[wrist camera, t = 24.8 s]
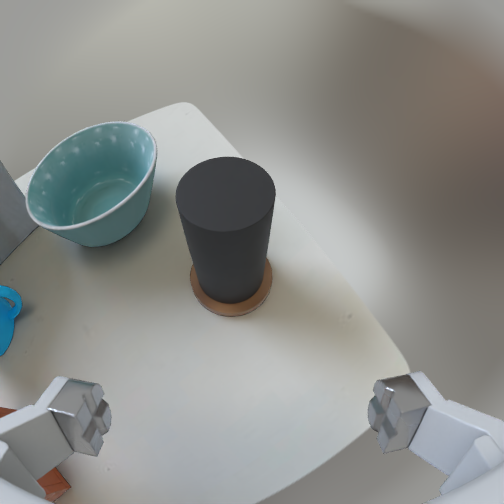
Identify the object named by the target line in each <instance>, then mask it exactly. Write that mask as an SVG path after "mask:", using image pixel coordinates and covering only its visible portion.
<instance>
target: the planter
mask: <svg viewBox="0 0 504 504" xmlns="http://www.w3.org/2000/svg"><path fill="white" fill-rule="evenodd" d="M25 198H26V197H25V196H24V195H23V193H22V192H21V190H20V189H19V188H18V186H17V185H16V183H15V182H14V180H13V179H12V177H11V176H10V175H9V173H8V171H7V170H6V169H5V167H4V165H3V164H2V162H1V161H0V264H1V263H2V262H3V261H4V260H5V259H6V258H7V257H8V256H9V255H10V254H11V253H12V251H13V250H14V249H15V248H16V247H17V246H18V245H19V244H20V243H21V242H22V241H23V240H24V239H25V238H26V237H27V236H28V235H29V234H30V233H31V232H32V231H33V230H34V229H36V228H37V227H38V226H39V225H38V224H37V223H35V222H34V221H33V220H32V218H31V217H30V216H29V214H28V211H27V208H26V199H25Z"/></svg>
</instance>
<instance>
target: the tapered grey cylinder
mask: <svg viewBox="0 0 504 504" xmlns="http://www.w3.org/2000/svg"><path fill="white" fill-rule="evenodd" d="M275 195H276V192H275V186H274V183H273V180H272V179H271V177H270V176H269V174H268V173H267V172H266V171H265V170H264V169H263V168H261V167H260V166H258V165H257V164H255V163H253V162H251V161H249V160H246V159H242V158H237V157H218V158H213V159H209V160H206V161H203V162H201V163H199V164H197V165H196V166H194V167H192V168H191V169H190V170H189V171H188V172H187V173H185V175H184V176H183V177H182V178H181V180H180V182H179V184H178V186H177V190H176V203H177V207H178V211H179V214H180V218H181V222H182V226H183V229H184V233H185V236H186V240H187V244H188V247H189V251H190V254H191V258H192V261H193V264H194V268H195V271H196V275H197V278H198V281H199V284H200V286H201V288H202V290H203V291H204V292H205V294H206V295H208V296H209V297H210V298H212V299H213V300H215V301H218V302H221V303H226V304H234V303H240V302H243V301H245V300H247V299H249V298H250V297H252V296H253V295H254V294H255V293H256V292H257V291H258V289H259V288H260V286H261V284H262V281H263V275H264V269H265V262H266V256H267V249H268V243H269V236H270V229H271V223H272V216H273V209H274V202H275Z"/></svg>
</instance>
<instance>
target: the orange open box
mask: <svg viewBox="0 0 504 504" xmlns="http://www.w3.org/2000/svg"><path fill="white" fill-rule="evenodd" d="M15 411H17V410H14V409H8V408H2V407H0V418H2V417H4V416H6V415H8V414H11V413H13V412H15ZM37 482H38V483H39V485H40V486H41V487H42V488H43V489H44V490H45V492H46V496H45V498H44V499H45V500H48V501H50V502H52V503H53V502H54V501H55V500H56V499H57V498H59V497H60V496H61V495H62V494H64V493H65V492H66V491H67V490H68V489H70V488H71V486H70V485H69V484H68V483H67V482H66V480H65V479H64V478H63V477H62V475H61V474H60V473H59V472H58V470H57V469H56V468H55V467H54V468H53V469H52V470H50V471H49V472H48V473H46V474H45V475H44V476H42V477H41V478H39V479H38V480H37Z"/></svg>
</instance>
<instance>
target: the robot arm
mask: <svg viewBox="0 0 504 504" xmlns="http://www.w3.org/2000/svg"><path fill="white" fill-rule="evenodd" d="M373 392H374V393H375V396H374V397H373V398H372V399H371V400H370V402H369V406H368V420H369V424H370V426H371V428H372V429H373V430H375V431H377V432H378V436H377V441H378V443H379V445H380V447H381V449H382V452H383V454H384V453H389V452H393V451H397V450H401V449H404V448H408V449H409V450H410V451H412V452H413V453H415V454H416V455H418V456H419V457H421V458H422V459H423V460H425V461H427V462H428V463H429V464H431V465H433V466H434V467H435V468H437V469H439V470H440V471H442V472H443V473H445V474H446V475H448V476H449V477H448V478H447V479H446V481H445V482H444V483H443V484H442V485H441V487H440V489H439V491H440V493H441V496H439V497H436V498H435V499H432V500H429V501H427V502H425V503H422V504H504V421H503V420H500V419H497V418H495V417H492V416H490V415H487V414H484V413H482V412H479V411H477V410H474V409H472V408H469V407H467V406H464V405H462V404H459V403H456V402H454V401H452V400H447V401H446V400H445V399H444V398H443V397H442V395H441V394H440V393H439V391H437V389H436V388H435V387H434V385H433V384H432V383H431V382H430V380H429V379H428V378H427V377H426V376H425V374H424V373H423V372H420V371H417V372H413V373H409V374H406V375H401V376H396V377H391V378H386V379H381V380H377V381H376V383H375V385H374V388H373ZM103 395H104V391H103V389H102V386H101V385H99V384H98V383H92V382H87V381H82V380H77V379H72V378H66V377H62V376H58V377H55V379H54V380H53V381H52V383H51V384H50V385H49V386H48V388H47V389H46V390H45V392H44V393H43V394H42V396H41V397H40V398H39V400H38V401H37V402H36V404H35V405H28V406H26V407H24V408H22V409H20V410H17V411H15V412H13V413H11V414H8V415H6V416H4V417H2V418H0V504H55V503H52V502H50V501H48V500H45V499H44V498H45V496H46V492H45V490H44V489H43V488H42V487H41V486H40V485H39V483H38V482H37V480H38V479H39V478H41V477H42V476H44V475H45V474H46V473H48V472H49V471H50V470H52V469H53V468H54V467H56V466H57V465H58V464H60V463H61V462H62V461H64V460H65V459H66V458H68V457H69V456H70V455H72V454H73V453H74V451H75V452H79V453H83V454H87V455H91V456H96V457H97V456H98V454H99V451H100V449H101V447H102V445H103V442H104V441H103V439H102V435H104V434H105V433H107V432H108V431H109V428H110V426H111V417H112V416H111V410H110V407H109V405H108V403H106V402H105V401H104V400H103V399H102V397H103Z"/></svg>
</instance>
